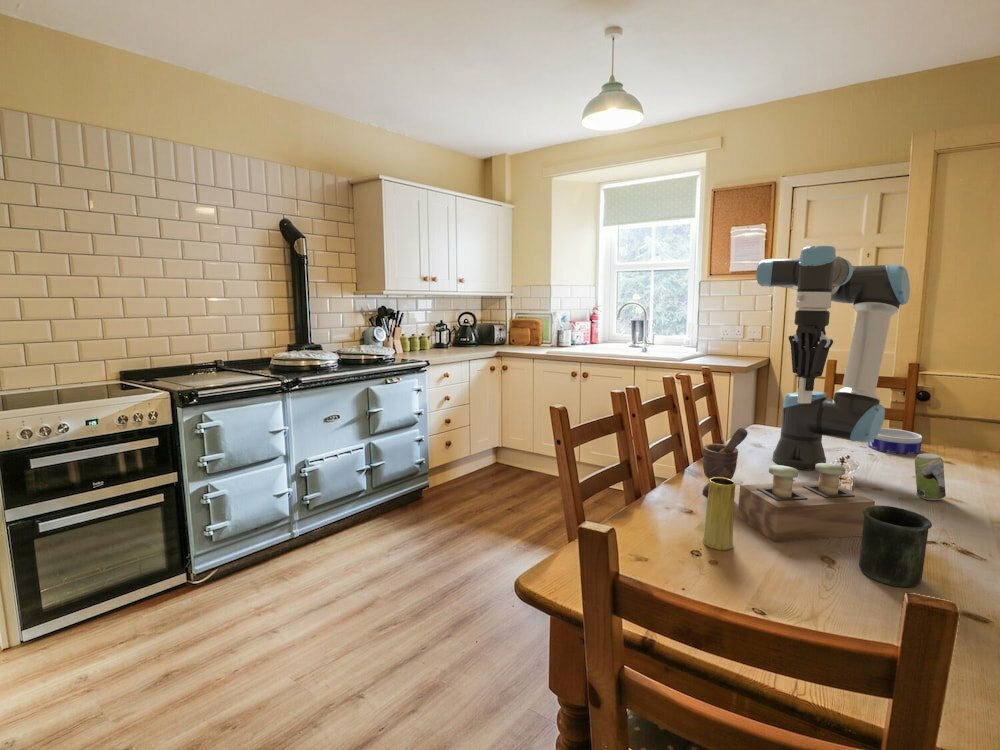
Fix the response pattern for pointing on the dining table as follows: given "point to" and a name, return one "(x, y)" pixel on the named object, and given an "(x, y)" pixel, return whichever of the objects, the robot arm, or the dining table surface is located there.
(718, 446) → the mortar and pestle
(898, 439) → the dog bowl
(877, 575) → the mug
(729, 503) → the vase
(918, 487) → the beverage can
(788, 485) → the peg
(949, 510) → the dining table surface
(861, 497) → the socket block
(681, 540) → the dining table surface
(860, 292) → the robot arm
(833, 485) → the peg
